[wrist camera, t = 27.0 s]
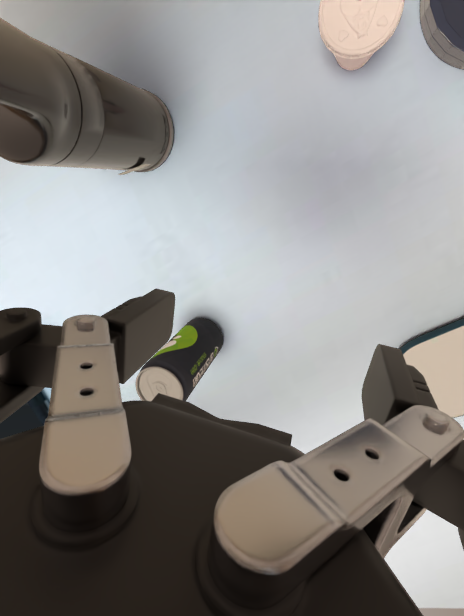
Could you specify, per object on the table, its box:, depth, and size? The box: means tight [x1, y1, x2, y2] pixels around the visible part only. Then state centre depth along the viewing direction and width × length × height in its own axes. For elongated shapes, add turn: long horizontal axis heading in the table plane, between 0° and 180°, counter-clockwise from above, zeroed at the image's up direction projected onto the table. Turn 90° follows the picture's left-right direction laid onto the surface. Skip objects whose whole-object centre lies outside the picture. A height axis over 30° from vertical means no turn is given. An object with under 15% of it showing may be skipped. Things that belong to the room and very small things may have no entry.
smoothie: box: [319, 0, 405, 70], centre depth 29 cm, size 6×6×14 cm
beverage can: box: [136, 318, 223, 401], centre depth 45 cm, size 6×6×15 cm
